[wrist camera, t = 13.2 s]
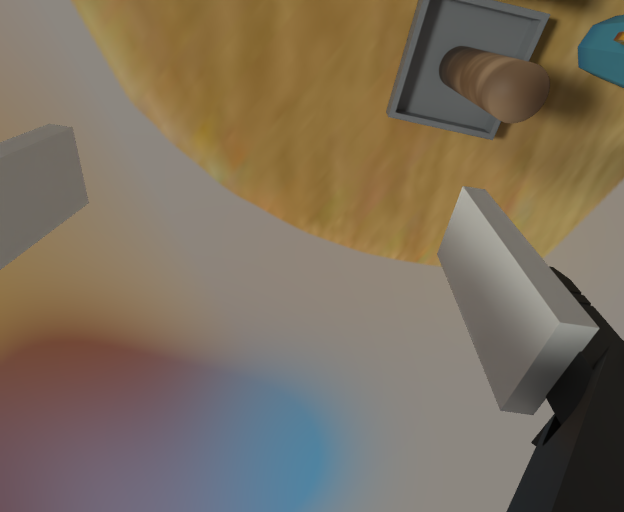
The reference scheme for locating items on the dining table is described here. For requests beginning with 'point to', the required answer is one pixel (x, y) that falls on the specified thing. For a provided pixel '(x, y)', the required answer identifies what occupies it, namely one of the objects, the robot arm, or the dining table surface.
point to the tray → (445, 36)
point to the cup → (604, 50)
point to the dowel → (496, 82)
